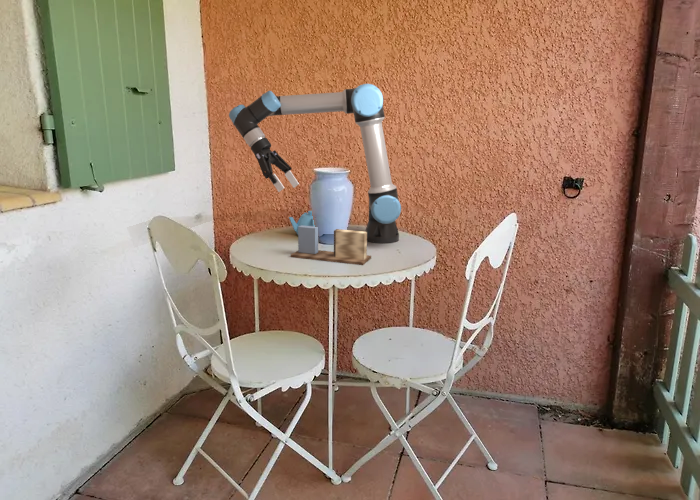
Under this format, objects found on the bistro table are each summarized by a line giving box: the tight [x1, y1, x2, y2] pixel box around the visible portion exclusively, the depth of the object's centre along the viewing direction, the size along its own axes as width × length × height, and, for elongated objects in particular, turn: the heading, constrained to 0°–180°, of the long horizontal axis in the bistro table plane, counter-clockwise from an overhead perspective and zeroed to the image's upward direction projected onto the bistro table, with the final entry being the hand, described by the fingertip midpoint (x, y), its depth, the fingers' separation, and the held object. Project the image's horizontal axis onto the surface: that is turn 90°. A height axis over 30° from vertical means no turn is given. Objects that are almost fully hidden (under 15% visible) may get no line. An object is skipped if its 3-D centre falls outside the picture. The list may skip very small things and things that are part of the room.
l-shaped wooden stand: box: [290, 228, 372, 266], centre depth 206 cm, size 29×10×11 cm, turn 70°
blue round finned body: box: [288, 210, 315, 235], centre depth 243 cm, size 15×15×11 cm
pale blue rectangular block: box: [297, 225, 319, 254], centre depth 209 cm, size 7×3×10 cm, turn 70°
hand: (289, 188), depth 210 cm, fingers open, 13 cm apart
